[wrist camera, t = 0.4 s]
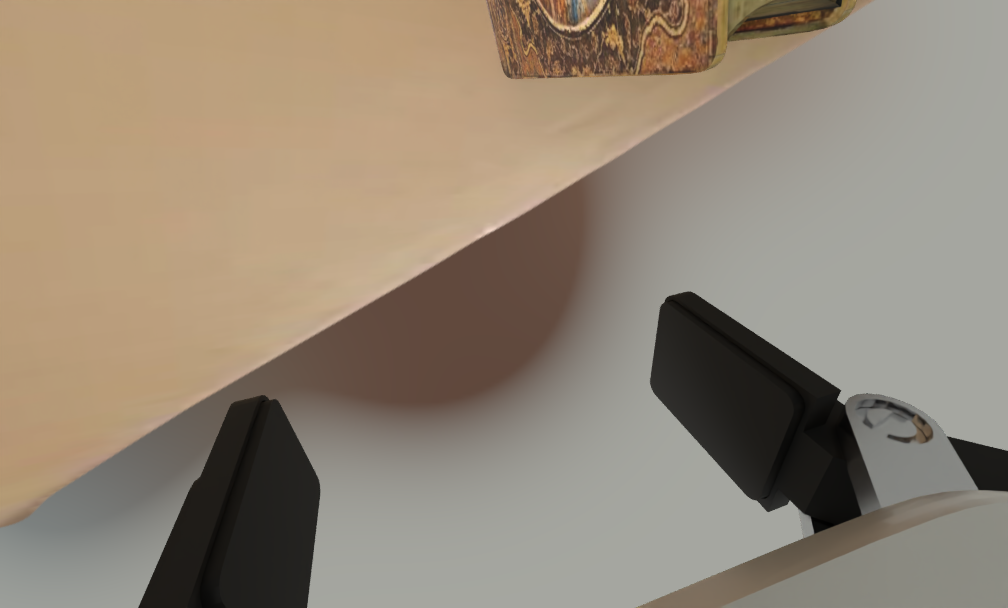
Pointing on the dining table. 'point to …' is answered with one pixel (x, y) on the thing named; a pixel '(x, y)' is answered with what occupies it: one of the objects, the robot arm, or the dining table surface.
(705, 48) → the book
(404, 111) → the dining table surface
